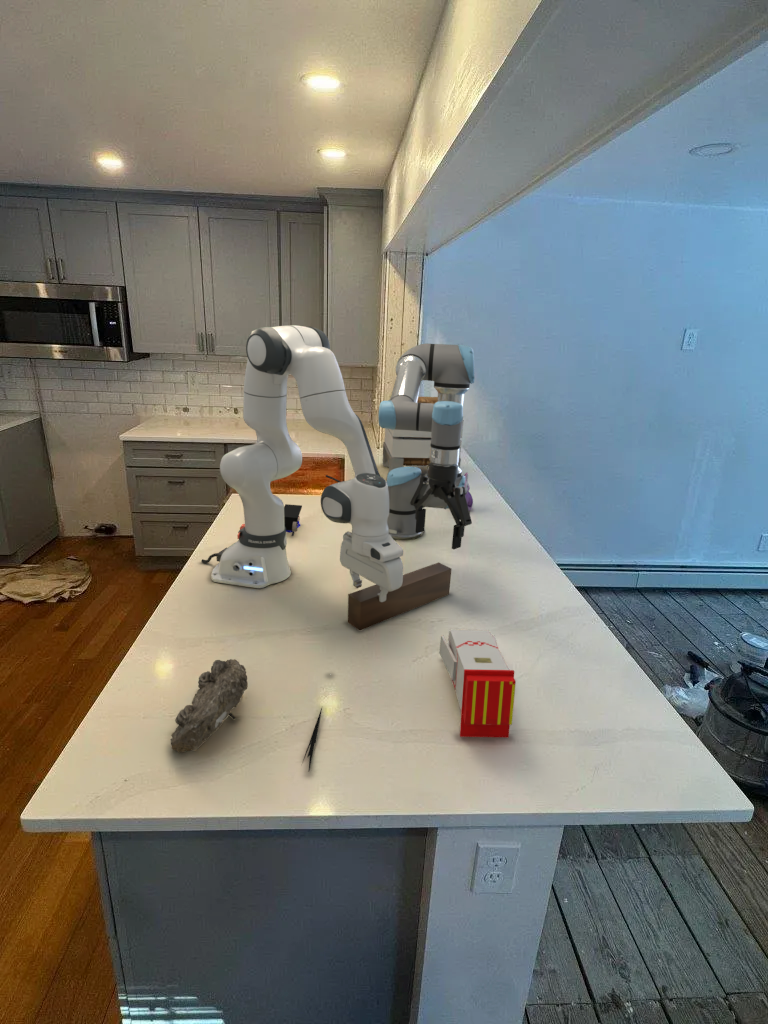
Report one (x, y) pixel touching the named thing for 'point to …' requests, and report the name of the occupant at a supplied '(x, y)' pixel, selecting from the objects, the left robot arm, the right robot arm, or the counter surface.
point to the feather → (313, 740)
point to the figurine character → (291, 517)
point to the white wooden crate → (409, 445)
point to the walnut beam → (399, 596)
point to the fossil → (210, 704)
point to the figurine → (468, 493)
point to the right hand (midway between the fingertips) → (437, 539)
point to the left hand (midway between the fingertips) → (369, 593)
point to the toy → (479, 682)
